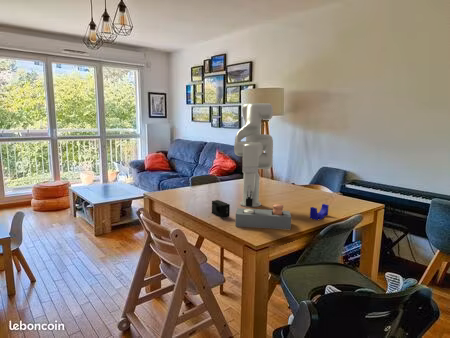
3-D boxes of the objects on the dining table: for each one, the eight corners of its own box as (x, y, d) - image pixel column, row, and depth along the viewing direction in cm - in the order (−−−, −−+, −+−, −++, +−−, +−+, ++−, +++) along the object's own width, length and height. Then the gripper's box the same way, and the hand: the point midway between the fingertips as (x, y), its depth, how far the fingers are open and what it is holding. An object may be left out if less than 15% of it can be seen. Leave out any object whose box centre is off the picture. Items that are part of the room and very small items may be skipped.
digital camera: (209, 213, 164) (209, 201, 163) (217, 211, 167) (218, 199, 166) (221, 218, 156) (221, 205, 155) (229, 217, 159) (229, 204, 158)
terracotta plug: (272, 215, 150) (272, 203, 149) (282, 215, 149) (283, 204, 148) (272, 218, 145) (273, 206, 144) (283, 219, 144) (283, 207, 143)
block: (236, 219, 155) (237, 208, 154) (288, 222, 152) (289, 210, 151) (235, 226, 145) (235, 214, 144) (290, 229, 142) (291, 217, 141)
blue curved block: (317, 220, 156) (317, 209, 155) (309, 218, 160) (310, 207, 159) (330, 216, 164) (331, 205, 163) (322, 214, 167) (323, 203, 166)
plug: (243, 220, 152) (243, 209, 151) (253, 221, 151) (254, 209, 150) (243, 224, 147) (243, 212, 146) (253, 224, 146) (253, 212, 146)
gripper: (243, 166, 153) (242, 201, 156) (241, 172, 138) (240, 210, 142) (258, 166, 152) (256, 202, 156) (258, 172, 137) (256, 211, 141)
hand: (249, 206), depth 149 cm, fingers closed
